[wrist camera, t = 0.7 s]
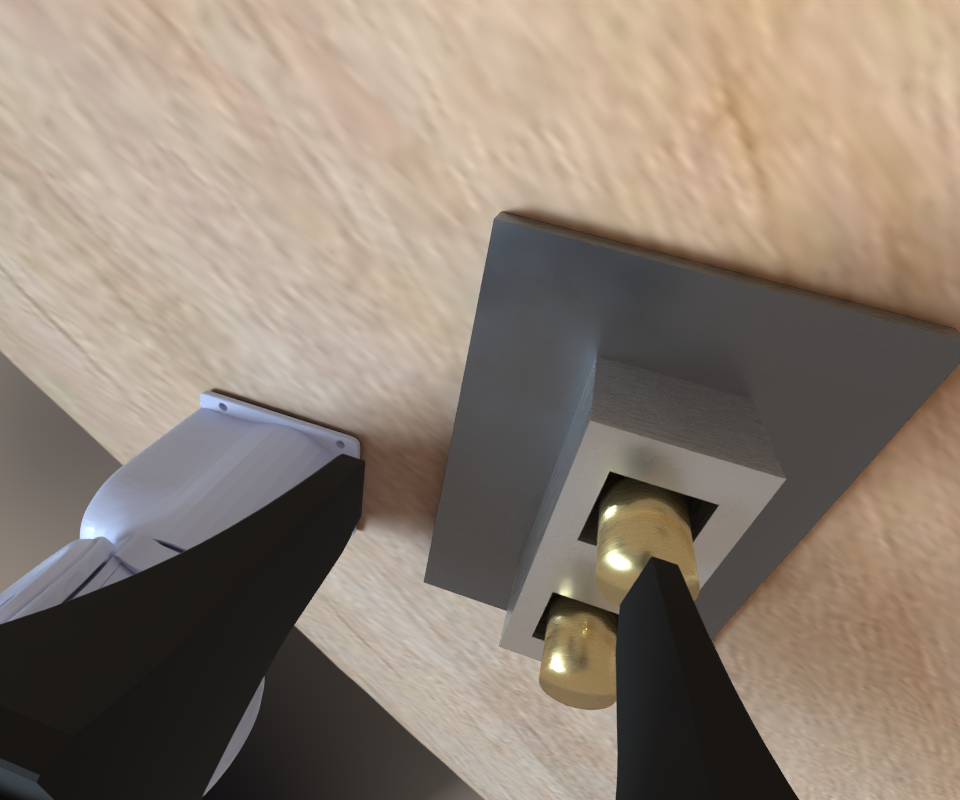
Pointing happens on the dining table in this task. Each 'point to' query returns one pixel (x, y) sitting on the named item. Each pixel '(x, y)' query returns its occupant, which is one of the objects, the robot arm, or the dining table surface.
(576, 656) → the pin
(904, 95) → the dining table surface
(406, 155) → the dining table surface
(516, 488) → the plate
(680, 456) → the housing
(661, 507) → the pin
